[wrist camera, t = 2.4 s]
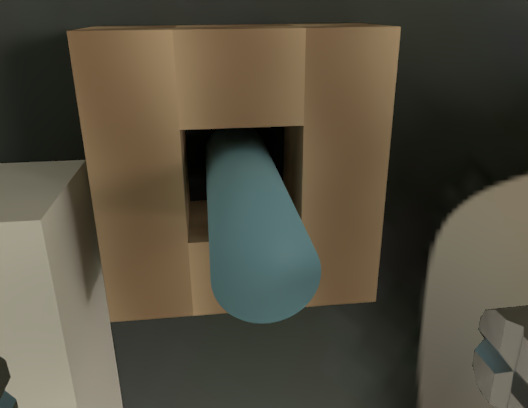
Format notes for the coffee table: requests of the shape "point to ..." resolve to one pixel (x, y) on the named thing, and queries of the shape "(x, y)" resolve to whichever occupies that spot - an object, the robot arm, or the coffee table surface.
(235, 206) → the pin
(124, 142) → the mount block
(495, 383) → the robot arm
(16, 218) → the white cinder block
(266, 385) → the coffee table surface
